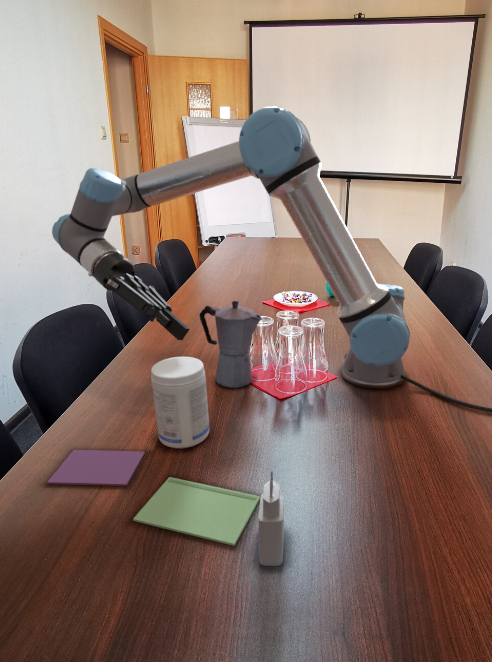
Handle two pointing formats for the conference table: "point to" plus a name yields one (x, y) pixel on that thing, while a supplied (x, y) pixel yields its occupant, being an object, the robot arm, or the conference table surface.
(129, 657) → the conference table surface
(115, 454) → the plum cloth
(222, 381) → the moka pot
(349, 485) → the conference table surface
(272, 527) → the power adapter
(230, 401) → the conference table surface
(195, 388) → the supplement tub
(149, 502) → the sage cloth
